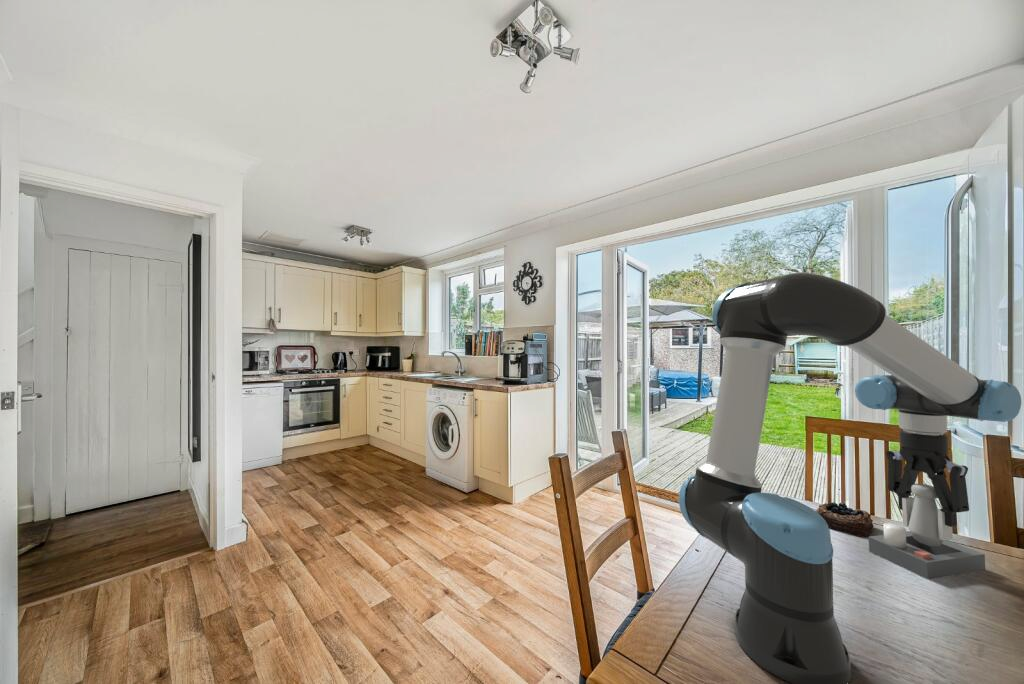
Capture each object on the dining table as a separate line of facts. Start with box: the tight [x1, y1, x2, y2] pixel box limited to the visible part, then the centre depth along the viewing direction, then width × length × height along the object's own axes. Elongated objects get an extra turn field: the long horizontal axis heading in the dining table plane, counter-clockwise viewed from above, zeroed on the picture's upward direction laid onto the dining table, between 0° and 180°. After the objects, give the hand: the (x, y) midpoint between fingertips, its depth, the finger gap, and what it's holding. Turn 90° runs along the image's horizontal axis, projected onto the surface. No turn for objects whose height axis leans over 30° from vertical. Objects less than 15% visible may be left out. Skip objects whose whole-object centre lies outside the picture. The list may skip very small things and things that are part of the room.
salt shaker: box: [908, 483, 943, 547], centre depth 85 cm, size 6×6×13 cm
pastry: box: [815, 501, 874, 538], centre depth 102 cm, size 11×12×6 cm
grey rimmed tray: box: [868, 522, 986, 580], centre depth 85 cm, size 16×11×8 cm
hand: (927, 531), depth 85 cm, fingers closed on salt shaker, 6 cm apart
